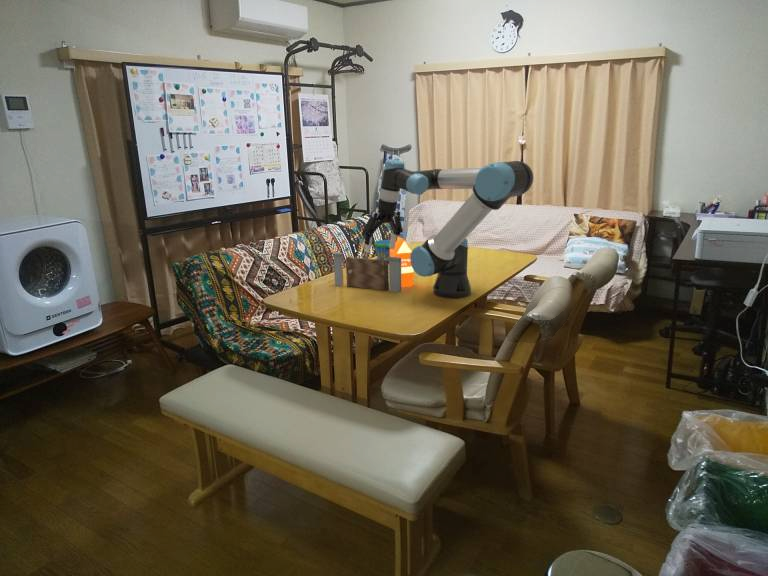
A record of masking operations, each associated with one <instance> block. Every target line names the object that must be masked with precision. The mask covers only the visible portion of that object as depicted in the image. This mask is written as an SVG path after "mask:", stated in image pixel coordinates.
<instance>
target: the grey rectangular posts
mask: <svg viewBox="0 0 768 576" xmlns="http://www.w3.org/2000/svg"><path fill="white" fill-rule="evenodd" d="M343 256H344V252H340V251H335V252H333V253H332V257H333V271H334V286H335V285H336V286H335V287H342V285H343V286H344V270H343V269H344V268H343ZM387 261H389V263H388V270H389V292H391V293H398V292H400V293H401V292H402V287H401V257H388V258H387Z"/></svg>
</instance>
